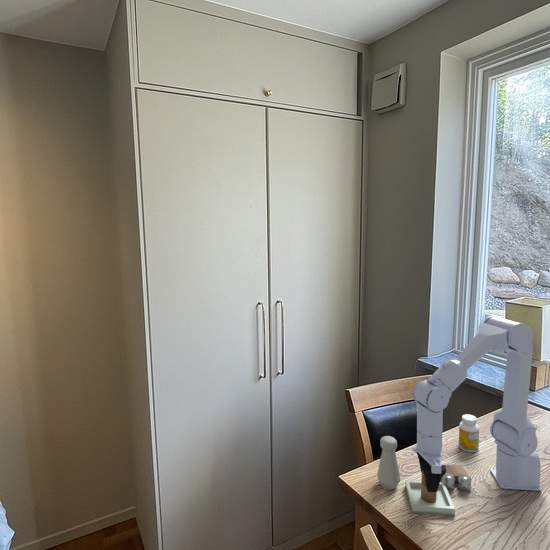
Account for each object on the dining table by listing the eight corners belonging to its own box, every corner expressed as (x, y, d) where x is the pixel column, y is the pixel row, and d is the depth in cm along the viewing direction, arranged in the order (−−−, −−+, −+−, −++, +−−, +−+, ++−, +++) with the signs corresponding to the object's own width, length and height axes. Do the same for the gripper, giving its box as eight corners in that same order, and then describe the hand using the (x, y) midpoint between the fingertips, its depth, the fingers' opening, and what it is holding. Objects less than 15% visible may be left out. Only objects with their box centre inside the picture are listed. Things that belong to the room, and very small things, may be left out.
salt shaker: (401, 493, 101) (401, 445, 100) (378, 491, 103) (377, 444, 101) (398, 479, 107) (398, 433, 105) (376, 477, 108) (376, 432, 107)
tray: (443, 488, 102) (444, 482, 102) (454, 515, 93) (455, 508, 93) (405, 486, 104) (405, 480, 104) (412, 512, 95) (412, 505, 94)
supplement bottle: (455, 442, 123) (456, 413, 122) (473, 442, 123) (474, 412, 122) (463, 452, 118) (464, 421, 117) (481, 452, 118) (482, 421, 116)
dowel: (434, 493, 100) (435, 463, 99) (438, 503, 96) (439, 472, 96) (419, 492, 100) (420, 462, 100) (422, 502, 97) (424, 471, 96)
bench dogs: (468, 484, 104) (469, 474, 103) (472, 492, 101) (472, 481, 100) (440, 483, 105) (440, 472, 104) (443, 490, 102) (443, 480, 101)
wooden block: (461, 472, 109) (461, 464, 109) (468, 484, 104) (469, 475, 104) (435, 472, 110) (435, 464, 109) (441, 484, 105) (441, 475, 104)
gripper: (407, 415, 104) (406, 464, 106) (418, 446, 90) (418, 502, 91) (435, 416, 103) (434, 465, 105) (451, 448, 89) (450, 504, 90)
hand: (428, 482), depth 98 cm, fingers open, 6 cm apart
